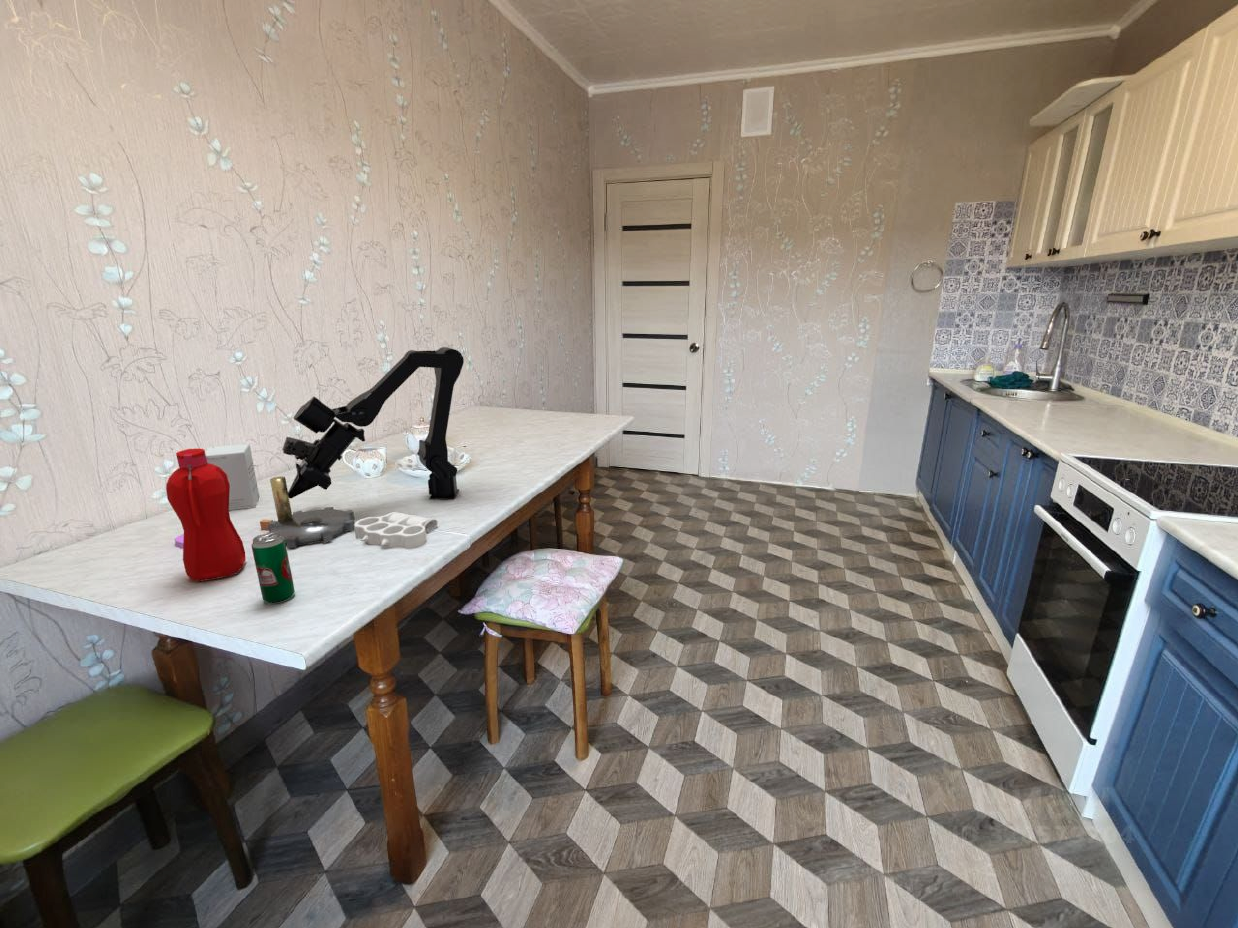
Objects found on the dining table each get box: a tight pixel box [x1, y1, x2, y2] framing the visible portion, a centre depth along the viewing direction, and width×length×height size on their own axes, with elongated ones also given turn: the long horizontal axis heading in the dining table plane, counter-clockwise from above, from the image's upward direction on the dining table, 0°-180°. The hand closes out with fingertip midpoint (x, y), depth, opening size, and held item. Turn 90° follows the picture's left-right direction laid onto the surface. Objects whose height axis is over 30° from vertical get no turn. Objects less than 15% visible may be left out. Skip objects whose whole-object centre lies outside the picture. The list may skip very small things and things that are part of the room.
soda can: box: [251, 531, 296, 604], centre depth 101 cm, size 5×5×12 cm
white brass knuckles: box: [354, 511, 438, 549], centre depth 128 cm, size 3×18×15 cm
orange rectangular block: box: [259, 519, 274, 531], centre depth 132 cm, size 2×1×2 cm, turn 83°
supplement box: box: [205, 443, 260, 511], centre depth 145 cm, size 9×9×15 cm
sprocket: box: [266, 476, 356, 549], centre depth 129 cm, size 19×19×12 cm
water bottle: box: [165, 448, 246, 582], centre depth 108 cm, size 9×11×25 cm
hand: (288, 497), depth 133 cm, fingers closed
